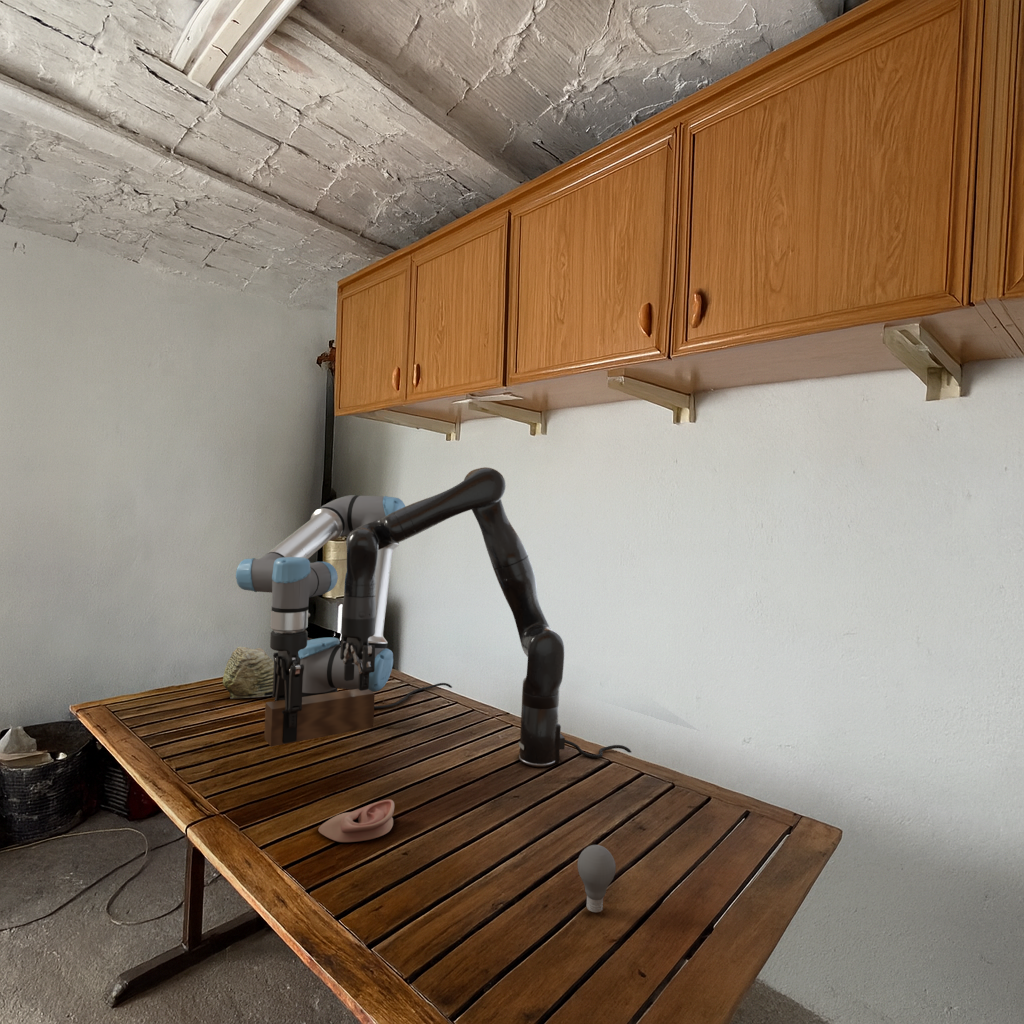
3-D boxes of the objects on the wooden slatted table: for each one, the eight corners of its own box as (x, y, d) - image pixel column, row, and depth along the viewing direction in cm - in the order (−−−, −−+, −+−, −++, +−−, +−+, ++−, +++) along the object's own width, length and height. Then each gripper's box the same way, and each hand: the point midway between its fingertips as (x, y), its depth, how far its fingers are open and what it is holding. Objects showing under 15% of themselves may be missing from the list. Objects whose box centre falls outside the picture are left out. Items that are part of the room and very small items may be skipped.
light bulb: (572, 898, 103) (575, 837, 103) (608, 897, 103) (611, 837, 103) (579, 922, 97) (582, 858, 97) (617, 922, 97) (620, 858, 97)
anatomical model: (310, 816, 117) (339, 789, 129) (309, 837, 117) (338, 808, 129) (377, 827, 115) (401, 798, 126) (376, 848, 115) (400, 818, 126)
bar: (270, 746, 132) (272, 709, 132) (264, 738, 136) (265, 702, 136) (373, 727, 146) (374, 693, 146) (364, 720, 150) (365, 687, 150)
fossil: (218, 695, 195) (220, 647, 195) (278, 685, 208) (279, 640, 207) (228, 703, 189) (230, 653, 188) (289, 692, 201) (290, 645, 201)
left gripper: (321, 636, 131) (316, 748, 131) (293, 620, 145) (290, 721, 146) (284, 640, 126) (279, 755, 127) (259, 623, 141) (256, 727, 141)
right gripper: (387, 619, 142) (384, 691, 142) (362, 608, 153) (359, 675, 153) (355, 621, 137) (352, 695, 137) (331, 610, 149) (328, 679, 149)
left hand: (285, 736), depth 136 cm, fingers closed on bar, 5 cm apart
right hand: (355, 684), depth 145 cm, fingers open, 8 cm apart
